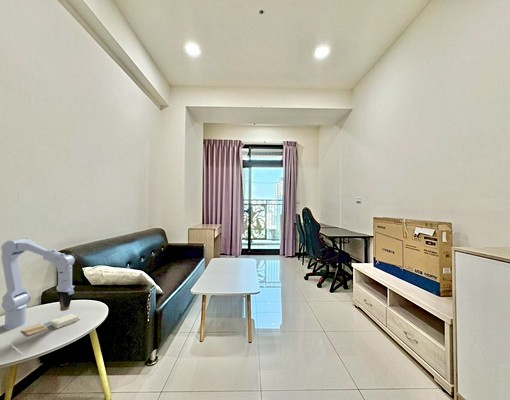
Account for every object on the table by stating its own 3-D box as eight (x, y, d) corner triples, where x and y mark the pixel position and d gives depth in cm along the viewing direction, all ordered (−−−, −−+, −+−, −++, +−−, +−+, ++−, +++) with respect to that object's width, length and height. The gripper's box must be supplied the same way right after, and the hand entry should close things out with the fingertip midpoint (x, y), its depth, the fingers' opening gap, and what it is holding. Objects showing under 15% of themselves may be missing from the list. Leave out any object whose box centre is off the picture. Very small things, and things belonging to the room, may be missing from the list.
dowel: (58, 309, 123) (59, 296, 123) (66, 307, 126) (67, 293, 126) (62, 311, 121) (62, 297, 121) (70, 308, 124) (70, 295, 124)
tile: (50, 320, 121) (57, 324, 118) (71, 313, 129) (77, 316, 126) (50, 325, 121) (56, 328, 118) (71, 317, 129) (77, 321, 126)
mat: (42, 324, 123) (42, 324, 123) (70, 315, 133) (70, 314, 133) (53, 331, 117) (53, 330, 117) (80, 320, 127) (80, 319, 127)
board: (21, 331, 116) (21, 329, 116) (39, 325, 122) (39, 323, 122) (28, 337, 111) (28, 334, 111) (47, 330, 117) (47, 328, 117)
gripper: (80, 279, 123) (80, 305, 123) (67, 275, 131) (67, 300, 130) (64, 283, 117) (64, 311, 117) (51, 278, 125) (51, 304, 124)
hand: (64, 305), depth 123 cm, fingers closed on dowel, 4 cm apart
